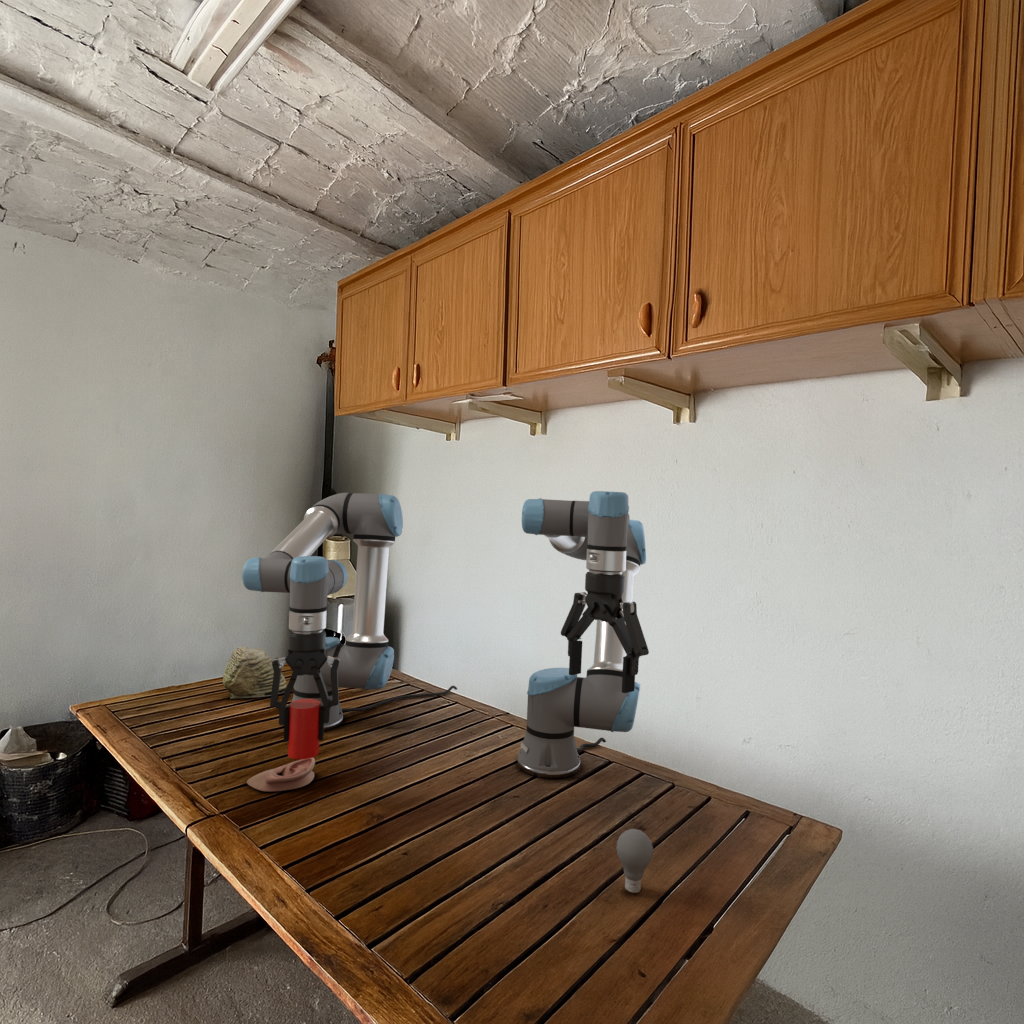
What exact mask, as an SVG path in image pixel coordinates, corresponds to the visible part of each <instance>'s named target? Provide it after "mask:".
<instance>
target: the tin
mask: <svg viewBox="0 0 1024 1024" xmlns="http://www.w3.org/2000/svg"><path fill="white" fill-rule="evenodd" d="M288 705H289V730H288V742H287V757H289V758H290V759H293V760H302V759H309V758H315V757H316V756H318V755H319V753H320V741H321V740H319V728H320V708H321V702H320V701H319V700H316V699H299V700H295V701H293V702H292V701H291V702H290V703H289V704H288Z"/></svg>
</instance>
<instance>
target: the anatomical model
mask: <svg viewBox="0 0 1024 1024" xmlns="http://www.w3.org/2000/svg"><path fill="white" fill-rule="evenodd" d="M315 766H316V758H315V757H312V758H309V759H297V760H295V761H291V762H289V763H287V764H283V765H281V766H280V765H279V766H278V767H275V768H270V769H268V770H267V769H266V770H264V771H262V772H259V773H257V774H255V775H253V776H252V777H250V778H249V779H247V781H246V784H247V785H248V786H249V787H251V788H253V789H255V790H258V791H260V792H282V791H283V792H284V791H290V790H295V789H299V788H302V787H305V786H307V785H309V784H310V783H311V782H312V781H313V780H314V778H315V772H314V771H313V769H314V767H315Z"/></svg>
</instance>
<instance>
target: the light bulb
mask: <svg viewBox="0 0 1024 1024" xmlns="http://www.w3.org/2000/svg"><path fill="white" fill-rule="evenodd" d="M615 849H616V854H617V857H618V859H619V861H620V863H621V865H622V867H623V873H624V874H623V875H624V876H625V878H624V888H625V890H627V891H628V892H630V893H634V894H635V893H639V892H640V891H641V889H642V887H641V886H642V879H643V877H644V875H645V871H646V868H647V867H648V866H649V864H650V863H651V861H652V859H653V855H654V847H653V843H652V841H651V838H649V836H648V835H647V834H646V833H645V832H643V831H642V830H641V829H636V828H629V829H627V830H625V831H623V832H622V833H621V834H620V835H619V837H618V839H617V841H616V847H615Z"/></svg>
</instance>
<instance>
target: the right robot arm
mask: <svg viewBox="0 0 1024 1024" xmlns="http://www.w3.org/2000/svg"><path fill="white" fill-rule="evenodd" d="M629 510H630V506H629V494H627V492H623V491H607V490H605V491H604V490H603V491H602V490H595V491H592V492H591V493H590V494H589V500H564V499H547V498H540V497H539V498H528V499H526V500H525V501H524V503H523V504H522V509H521V528H522V531H523V532H524V534H529V535H535V536H544V537H545V538H547V539H548V540H549V543H550V545H551V546H552V547H553V549H554V550H556V551H557V552H559V553H561V554H563V555H565V556H568V557H571V558H574V559H577V560H581V561H586V562H585V568H586V569H587V570H588V571H587V572H586V573H585V579H584V590H585V591H583V592H581V591H580V592H574V595H573V601H572V602H573V603H572V605H571V607H570V609H569V612H568V614H567V616H566V619H565V621H564V623H563V625H562V628H561V630H560V635H561V636H562V637H565V638H566V640H567V641H568V642H567V656H568V657H569V660H568V661H569V663H568V667H549V668H542V669H539V670H537V671H535V672H533V673H532V674H531V675H530V677H529V678H528V679H529V680H528V687H527V693H526V694H527V708H526V730H525V735H524V737H523V740H522V742H521V743H520V749H519V751H518V753H517V766H518V768H519V769H520V770H521V771H523V772H524V773H526V774H527V775H530V776H533V777H536V778H543V779H565V778H569V777H572V776H574V775H576V774H578V773H579V771H580V769H581V758H580V754H579V753H580V752H582V751H583V750H584V748H596V747H597V746H599V745H600V744H601V743H607V740H606V739H605V738H604V737H599V738H598V739H597V740H596V741H595V742H592V743H581V744H580V745H579V747H578V746H577V743H576V739H575V728H581V729H590V730H599V731H607V732H611V733H614V732H615V733H616V732H619V733H628V732H630V731H631V730H633V728H634V725H635V719H636V713H637V708H638V703H639V696H640V690H641V684H640V683H639V682H637V681H636V675H638V674H639V665H640V664H639V663H640V658H641V657H642V656H648V655H649V653H650V651H649V647H648V644H647V641H646V637H645V635H644V632H643V628H642V626H641V623H640V620H639V617H638V616H639V615H638V610H637V609H638V608H637V602H636V601H633V599H634V598H633V595H634V579H635V578H634V577H635V575H637V574H638V573H639V572H640V570H641V566H642V565H643V566H644V565H645V564H646V563H647V551H646V538H645V537H646V536H645V529H644V525H643V523H642V522H641V521H640V520H638V519H630V514H629V512H630V511H629ZM586 606H587V607H586ZM585 608H586V609H585ZM594 621H596V627H595V641H594V651H593V652H594V653H593V663H592V665H591V666H589V668H587V669H586V677H582V676H581V677H580V676H578V675H581V674H582V657H583V640H582V636H583V635H584V633H585V632H586V631H587V630H588V628H589V627H590V626H591V625H592V624H593V622H594Z"/></svg>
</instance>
